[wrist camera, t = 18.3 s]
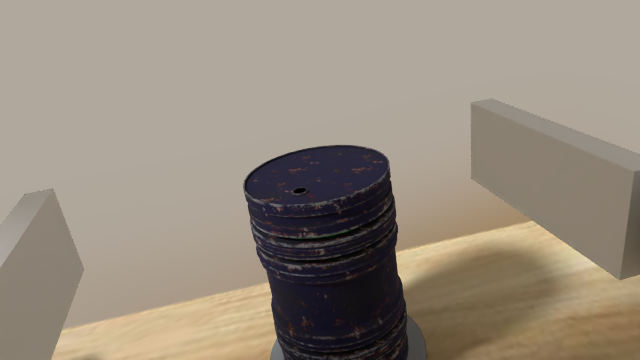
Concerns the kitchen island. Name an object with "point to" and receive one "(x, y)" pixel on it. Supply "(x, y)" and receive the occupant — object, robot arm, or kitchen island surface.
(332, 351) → the dark blue cylinder
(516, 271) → the kitchen island surface
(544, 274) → the kitchen island surface
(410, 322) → the rubber pad
